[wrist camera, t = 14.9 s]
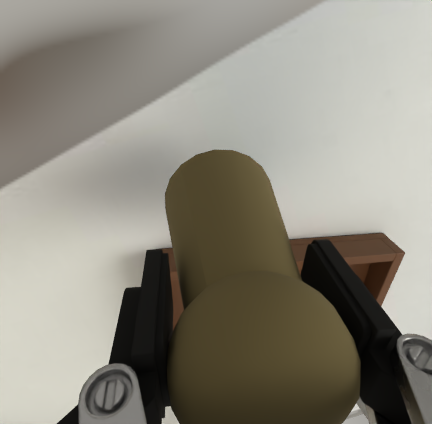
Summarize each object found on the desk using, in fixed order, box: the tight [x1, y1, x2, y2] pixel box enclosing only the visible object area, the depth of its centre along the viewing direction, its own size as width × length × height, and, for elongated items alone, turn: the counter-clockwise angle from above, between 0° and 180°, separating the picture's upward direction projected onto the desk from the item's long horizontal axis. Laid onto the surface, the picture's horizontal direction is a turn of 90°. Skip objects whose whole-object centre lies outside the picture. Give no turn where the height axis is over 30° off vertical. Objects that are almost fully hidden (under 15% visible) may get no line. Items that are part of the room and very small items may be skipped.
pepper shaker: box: [165, 150, 361, 424], centre depth 11 cm, size 6×6×11 cm
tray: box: [162, 233, 405, 330], centre depth 25 cm, size 20×13×3 cm, turn 89°
